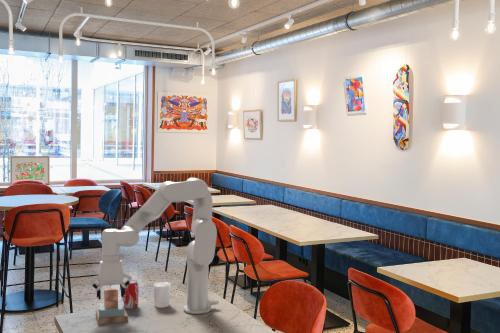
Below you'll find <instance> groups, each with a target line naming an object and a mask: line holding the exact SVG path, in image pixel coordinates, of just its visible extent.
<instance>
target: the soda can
mask: <svg viewBox="0 0 500 333" xmlns="http://www.w3.org/2000/svg"><path fill="white" fill-rule="evenodd" d="M126 281H127V279H126V280H123V283H125V282H126ZM139 290H140V289H139V284H138V280H136V279H131V281H130V283H129V284H128V285H127V286H126V288H125V295H124V297H122V302H124V308H125V310H126V309H127V310H132V309H136V308H137V307H138V306H139Z"/></svg>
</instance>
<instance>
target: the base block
mask: <svg viewBox="0 0 500 333" xmlns="http://www.w3.org/2000/svg"><path fill="white" fill-rule="evenodd" d="M95 316H96V321H97V325H109V324H116V323H125V322H129V316H128V313H127V310H126V308H125V307H124V316H117V317H100V318H99V309H96V310H95Z"/></svg>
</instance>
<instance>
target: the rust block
mask: <svg viewBox="0 0 500 333" xmlns="http://www.w3.org/2000/svg"><path fill="white" fill-rule="evenodd" d="M103 290H104V291H103V294H104V295H103V297H104V298H103V303H104V306H105V308H106V309H107V308H116V307H118V302H119V290H118V289H117V287H111V288H110V287H109V288H104V289H103Z"/></svg>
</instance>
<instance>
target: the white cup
mask: <svg viewBox="0 0 500 333" xmlns="http://www.w3.org/2000/svg"><path fill="white" fill-rule="evenodd" d="M171 285H172V283H171V282H167V281H166V282H165V281H158V282H155V283H153V286H152V287H153V301H154V304H153V305H154V307H155V308H160V309H161V308H162V309H163V308H167V307H169V306H170V300H171V289H172V288H171Z"/></svg>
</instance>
